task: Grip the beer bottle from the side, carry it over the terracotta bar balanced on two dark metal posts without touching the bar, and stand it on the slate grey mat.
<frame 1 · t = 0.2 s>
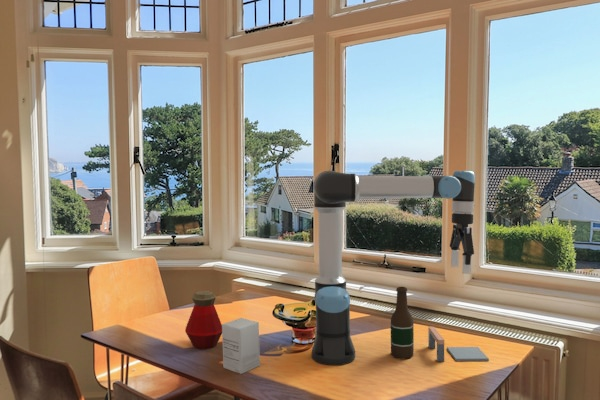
hand: (460, 270, 181), 27 cm above the table, tool pointing down, fingers open, 13 cm apart
hurdle posts: (436, 354, 172), on the table
supplement box: (241, 367, 164), on the table
hurdle bar: (436, 337, 172), point 6 cm above the table, touching hurdle posts
grey mat: (467, 354, 171), on the table
beer bottle: (402, 355, 171), on the table
red faceted jar: (204, 345, 185), on the table
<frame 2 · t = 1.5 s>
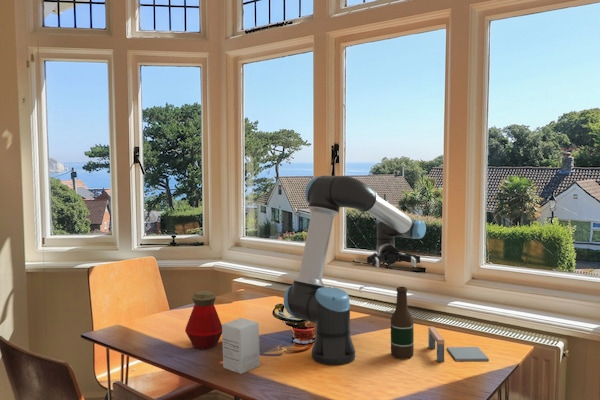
hand: (396, 263, 181), 30 cm above the table, tool horizontal, fingers open, 13 cm apart
nothing on the table moved.
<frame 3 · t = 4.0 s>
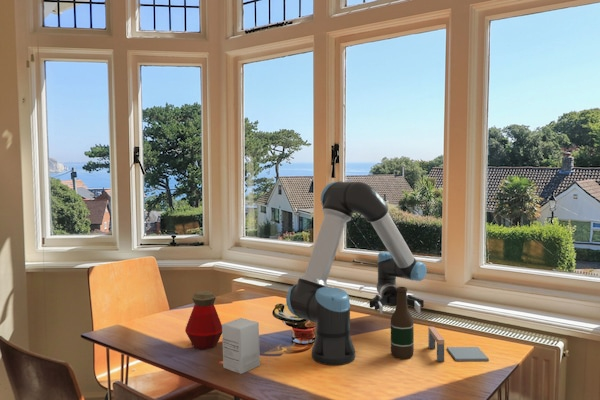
hand: (400, 309, 177), 14 cm above the table, tool horizontal, fingers open, 13 cm apart
nothing on the table moved.
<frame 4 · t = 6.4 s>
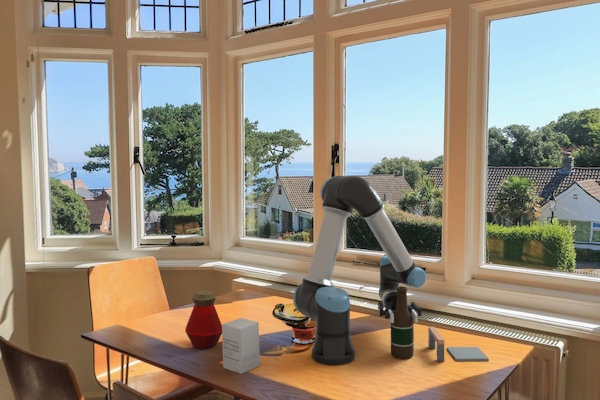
hand: (404, 318, 166), 14 cm above the table, tool horizontal, fingers closed on beer bottle, 7 cm apart
beer bottle: (402, 355, 171), on the table, touching gripper
everything else where it was.
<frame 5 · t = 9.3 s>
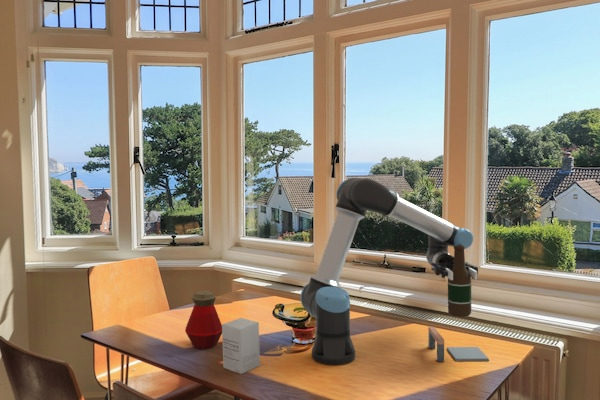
hand: (464, 275, 165), 29 cm above the table, tool horizontal, fingers closed on beer bottle, 7 cm apart
beer bottle: (459, 314, 171), point 14 cm above the table, touching gripper
everything else where it was.
when the fingers open (17 cm above the table, at t = 12.1 s): beer bottle drops 1 cm, resting on grey mat.
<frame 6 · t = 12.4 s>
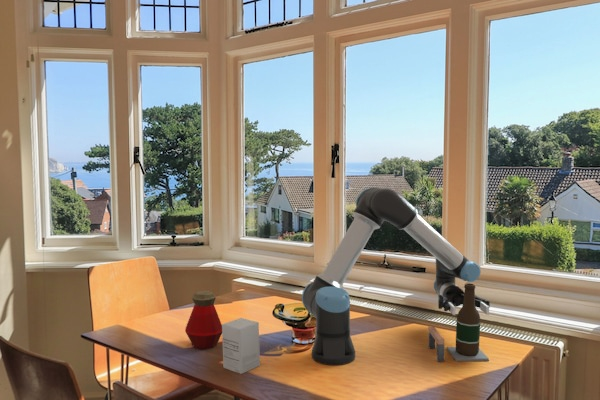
hand: (471, 310, 166), 17 cm above the table, tool horizontal, fingers open, 10 cm apart
beer bottle: (467, 352, 171), point 1 cm above the table, touching grey mat
everything else where it was.
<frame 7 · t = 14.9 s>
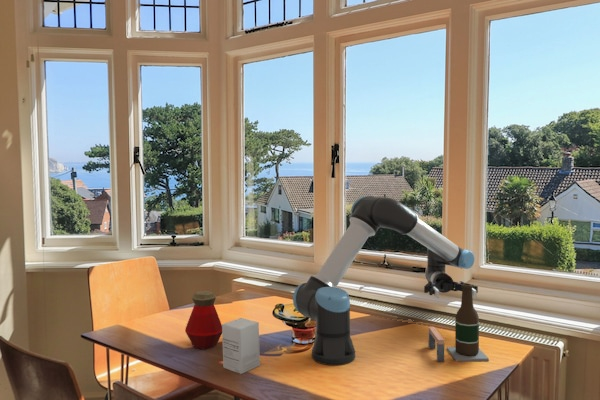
hand: (456, 294, 180), 19 cm above the table, tool horizontal, fingers open, 13 cm apart
nothing on the table moved.
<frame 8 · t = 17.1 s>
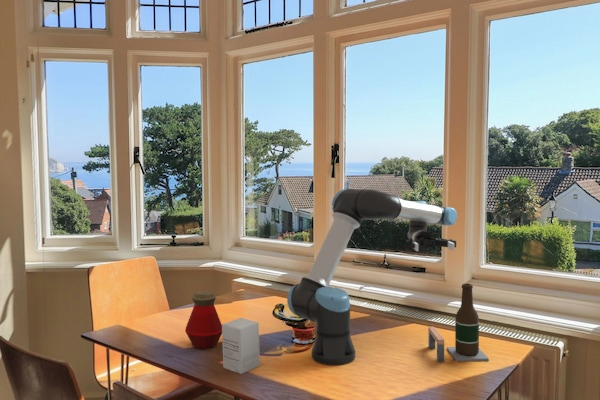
hand: (435, 247, 187), 35 cm above the table, tool horizontal, fingers open, 13 cm apart
nothing on the table moved.
at the end: beer bottle inside the target area on the grey mat (0.1 cm from its centre), point 0.6 cm above the grey mat's base; beer bottle tilted 0°; hurdle bar moved 0.0 cm from its start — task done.
